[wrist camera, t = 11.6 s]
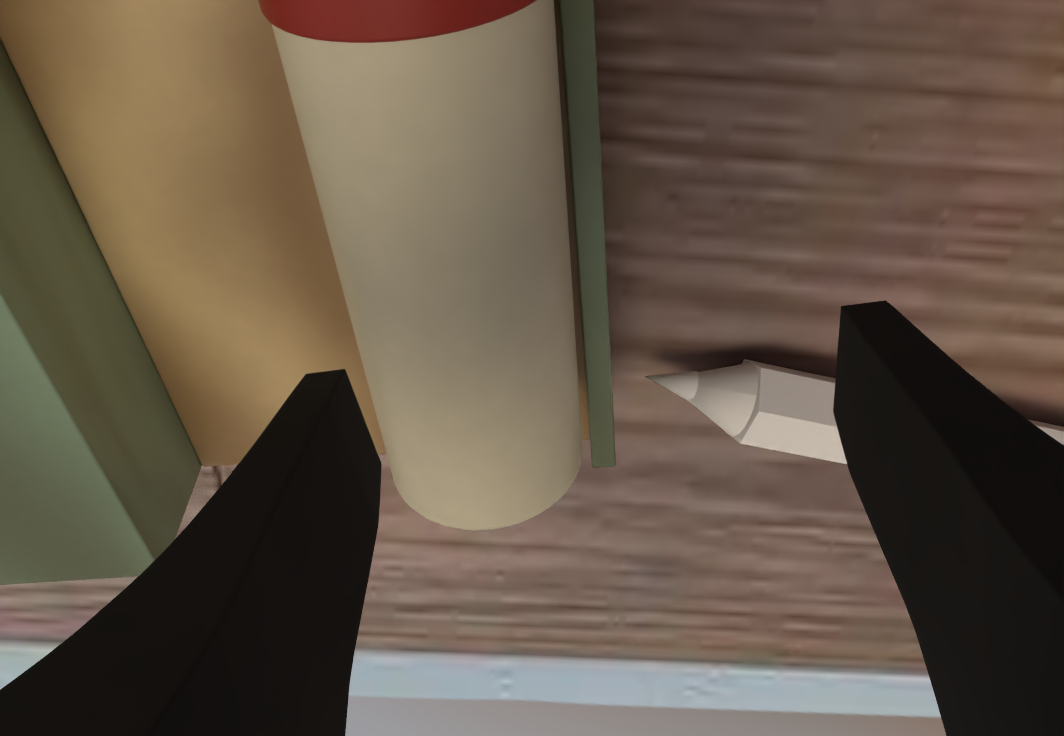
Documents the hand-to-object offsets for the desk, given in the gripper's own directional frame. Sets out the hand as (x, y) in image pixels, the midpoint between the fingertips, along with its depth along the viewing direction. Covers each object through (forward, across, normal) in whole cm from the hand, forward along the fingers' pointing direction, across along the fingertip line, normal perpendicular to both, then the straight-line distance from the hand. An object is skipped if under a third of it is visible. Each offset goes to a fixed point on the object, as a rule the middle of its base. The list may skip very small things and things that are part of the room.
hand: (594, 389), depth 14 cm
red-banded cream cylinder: (+6, +4, -2) cm, 7 cm away
